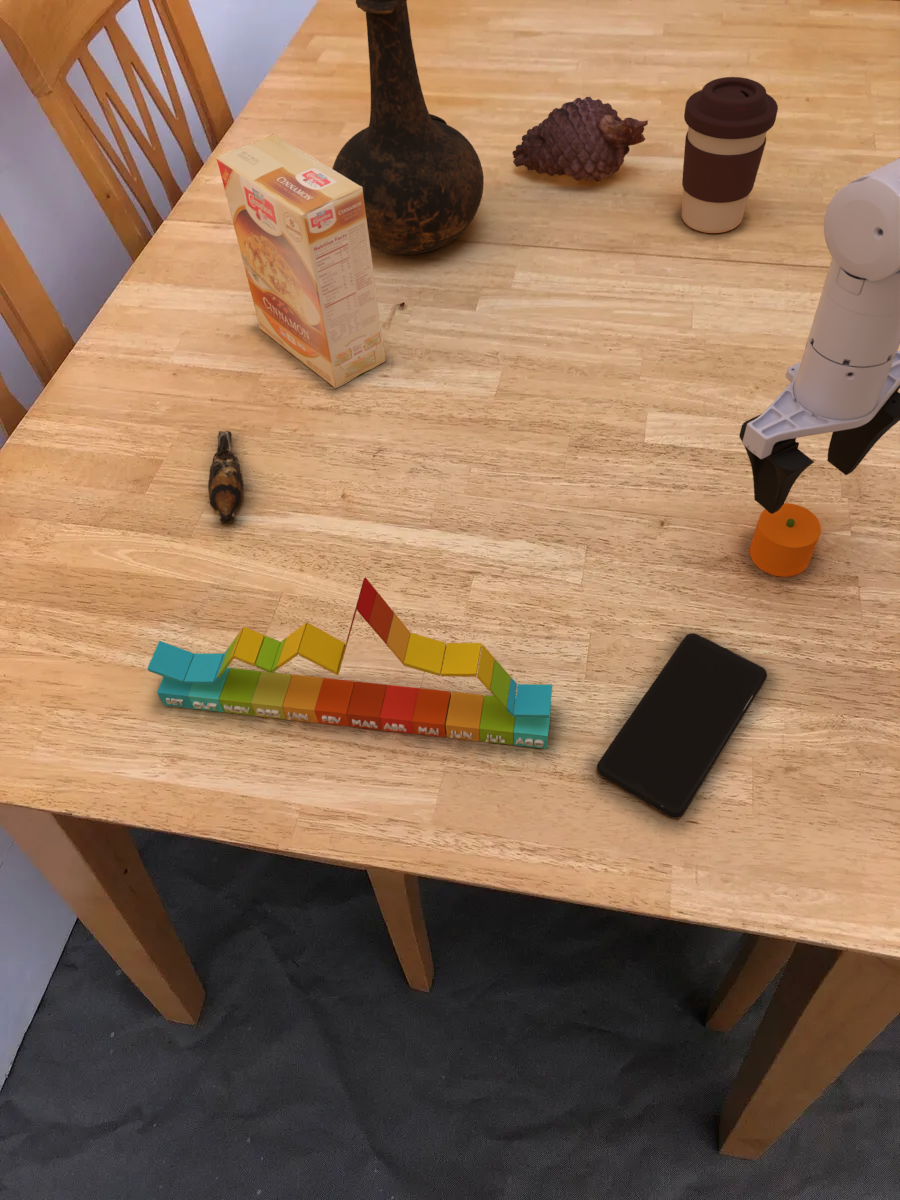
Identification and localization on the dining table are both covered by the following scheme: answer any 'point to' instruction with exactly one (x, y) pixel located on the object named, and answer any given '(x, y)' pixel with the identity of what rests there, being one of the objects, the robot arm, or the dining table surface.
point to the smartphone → (682, 724)
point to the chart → (358, 684)
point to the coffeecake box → (305, 256)
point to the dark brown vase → (407, 149)
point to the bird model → (225, 480)
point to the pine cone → (579, 141)
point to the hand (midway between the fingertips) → (803, 485)
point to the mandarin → (785, 540)
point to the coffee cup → (723, 151)
